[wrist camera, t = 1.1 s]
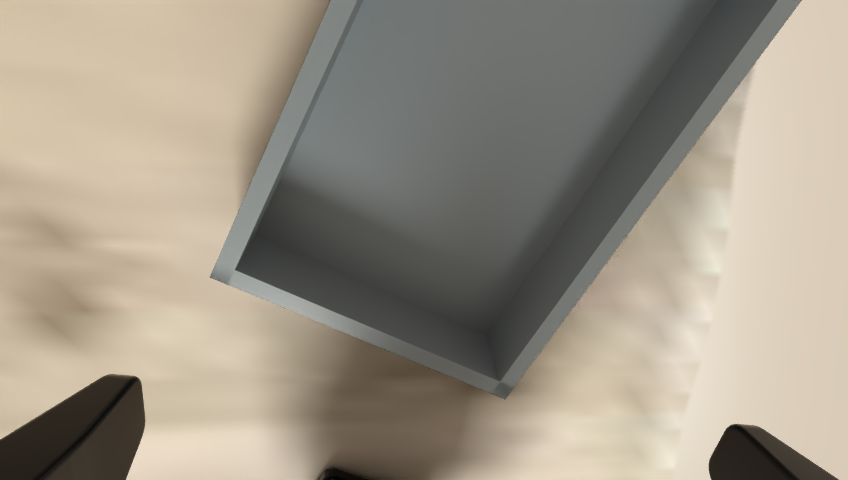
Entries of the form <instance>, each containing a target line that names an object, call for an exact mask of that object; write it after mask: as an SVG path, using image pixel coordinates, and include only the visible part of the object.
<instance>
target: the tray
mask: <svg viewBox="0 0 848 480" xmlns="http://www.w3.org/2000/svg"><path fill="white" fill-rule="evenodd" d="M801 1H802V0H331V1H330V3H329V6H328V8H327V10H326V12H325V15H324V17H323V19H322V22H321V24H320V26H319V28H318V31H317V33H316V35H315V38H314V40H313V42H312V45H311V47H310V49H309V51H308V54H307V56H306V58H305V61H304V63H303V65H302V67H301V70H300V72H299V74H298V77H297V79H296V81H295V83H294V86H293V88H292V90H291V93H290V95H289V97H288V99H287V102H286V104H285V106H284V109H283V111H282V113H281V115H280V118H279V120H278V122H277V125H276V127H275V129H274V131H273V134H272V136H271V138H270V141H269V143H268V145H267V147H266V150H265V152H264V154H263V157H262V159H261V161H260V163H259V166H258V168H257V170H256V173H255V175H254V177H253V180H252V182H251V184H250V186H249V189H248V191H247V193H246V196H245V198H244V200H243V202H242V205H241V207H240V209H239V212H238V214H237V216H236V218H235V221H234V223H233V225H232V228H231V230H230V232H229V234H228V237H227V239H226V241H225V244H224V246H223V248H222V250H221V253H220V255H219V257H218V260H217V262H216V264H215V266H214V269H213V271H212V273H211V276H210V278H212V279H215V280H217V281H220V282H222V283H225V284H227V285H229V286H232V287H234V288H237V289H239V290H242V291H244V292H246V293H249V294H251V295H254V296H256V297H258V298H261V299H263V300H266V301H268V302H271V303H273V304H275V305H278V306H280V307H283V308H285V309H288V310H290V311H292V312H295V313H297V314H300V315H302V316H305V317H307V318H309V319H312V320H314V321H317V322H319V323H321V324H324V325H326V326H329V327H331V328H334V329H336V330H338V331H341V332H343V333H346V334H348V335H351V336H353V337H355V338H358V339H360V340H363V341H365V342H368V343H370V344H372V345H375V346H377V347H380V348H382V349H384V350H387V351H389V352H392V353H394V354H397V355H399V356H401V357H404V358H406V359H409V360H411V361H414V362H416V363H418V364H421V365H423V366H426V367H428V368H431V369H433V370H435V371H438V372H440V373H443V374H445V375H447V376H450V377H452V378H455V379H457V380H460V381H462V382H464V383H467V384H469V385H472V386H474V387H477V388H479V389H481V390H484V391H486V392H489V393H491V394H494V395H496V396H498V397H501V398H503V399H506V397H507V396H508V395H509V393H510V392H511V391H512V389H513V388H514V387H515V385H516V384H517V383H518V381H519V380H520V379H521V377H522V376H523V375H524V373H525V372H526V371H527V369H528V368H529V367H530V365H531V364H532V362H533V361H534V360H535V358H536V357H537V356H538V354H539V353H540V352H541V350H542V349H543V348H544V346H545V345H546V344H547V342H548V341H549V340H550V338H551V337H552V336H553V334H554V333H555V332H556V330H557V329H558V328H559V326H560V325H561V323H562V322H563V321H564V319H565V318H566V317H567V315H568V314H569V313H570V311H571V310H572V309H573V307H574V306H575V305H576V303H577V302H578V301H579V299H580V298H581V297H582V295H583V294H584V293H585V291H586V290H587V288H588V287H589V286H590V284H591V283H592V282H593V280H594V279H595V278H596V276H597V275H598V274H599V272H600V271H601V270H602V268H603V267H604V266H605V264H606V263H607V262H608V260H609V259H610V258H611V256H612V255H613V254H614V252H615V251H616V249H617V248H618V247H619V245H620V244H621V243H622V241H623V240H624V239H625V237H626V236H627V235H628V233H629V232H630V231H631V229H632V228H633V227H634V225H635V224H636V223H637V221H638V220H639V219H640V217H641V216H642V214H643V213H644V212H645V210H646V209H647V208H648V206H649V205H650V204H651V202H652V201H653V200H654V198H655V197H656V196H657V194H658V193H659V192H660V190H661V189H662V188H663V186H664V185H665V184H666V182H667V181H668V179H669V178H670V177H671V175H672V174H673V173H674V171H675V170H676V169H677V167H678V166H679V165H680V163H681V162H682V161H683V159H684V158H685V157H686V155H687V154H688V153H689V151H690V150H691V149H692V147H693V146H694V145H695V143H696V142H697V140H698V139H699V138H700V136H701V135H702V134H703V132H704V131H705V130H706V128H707V127H708V126H709V124H710V123H711V122H712V120H713V119H714V118H715V116H716V115H717V114H718V112H719V111H720V110H721V108H722V107H723V105H724V104H725V103H726V101H727V100H728V99H729V97H730V96H731V95H732V93H733V92H734V91H735V89H736V88H737V87H738V85H739V84H740V83H741V81H742V80H743V79H744V77H745V76H746V75H747V73H748V72H749V71H750V69H751V68H752V66H753V65H754V64H755V62H756V61H757V60H758V58H759V57H760V56H761V54H762V53H763V51H764V50H765V49H766V48H767V46H768V45H769V44H770V42H771V41H772V40H773V38H774V37H775V36H776V34H777V33H778V31H779V30H780V29H781V27H782V26H783V25H784V23H785V22H786V21H787V19H788V18H789V17H790V15H791V14H792V12H793V11H794V10H795V9H796V7H797V6H798V4H799V3H800V2H801Z"/></svg>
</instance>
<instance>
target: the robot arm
mask: <svg viewBox="0 0 848 480" xmlns="http://www.w3.org/2000/svg"><path fill="white" fill-rule="evenodd" d="M144 428H145V411H144V402H143V393H142V385H141V381H140V379H139V378H138V377H136V376H129V375H116V374H110V375H106V376H103V377H102V378H100V379H98V380H97V381H95V382H93V383H92V384H90V385H88V386H87V387H85V388H84V389H82V390H80V391H79V392H77V393H75V394H74V395H72V396H71V397H69V398H67V399H66V400H64V401H62V402H61V403H59V404H58V405H56V406H54V407H53V408H51V409H49V410H48V411H46V412H44V413H43V414H41V415H40V416H38V417H36V418H35V419H33V420H31V421H30V422H28V423H27V424H25V425H23V426H22V427H20V428H18V429H17V430H15V431H14V432H12V433H10V434H9V435H7V436H5V437H4V438H2V439H0V480H126V478H127V475H128V472H129V470H130V467H131V465H132V462H133V459H134V457H135V454H136V452H137V449H138V446H139V444H140V441H141V439H142V436H143V432H144ZM709 473H710V477H711V479H712V480H838V479H837V478H835V477H834V476H832V475H831V474H829V473H828V472H826V471H825V470H823V469H822V468H821V467H819V466H817V465H816V464H814V463H813V462H811V461H810V460H809V459H807V458H805V457H804V456H803V455H801V454H799V453H798V452H796V451H795V450H793V449H792V448H791V447H789V446H788V445H786V444H784V443H783V442H782V441H780V440H778V439H777V438H776V437H774V436H772V435H771V434H770V433H768V432H766V431H765V430H764V429H762V428H760V427H758V426H754V425H741V424H733V425H730V426H729V427H728V428H727V429H726V430H725V432H724V434H723V435H722V437H721V439H720V441H719V443H718V445H717V447H716V448H715V450H714V452H713V454H712V456H711V458H710V460H709ZM331 479H333V480H367V479H364V478H361V477H358V476H355V475H352V474H349V473H347V472H344V471H341V470H338V469H328V470H326V471H325V472H324V473H323V474H322V476H321V477H320V479H319V480H331Z"/></svg>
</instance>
